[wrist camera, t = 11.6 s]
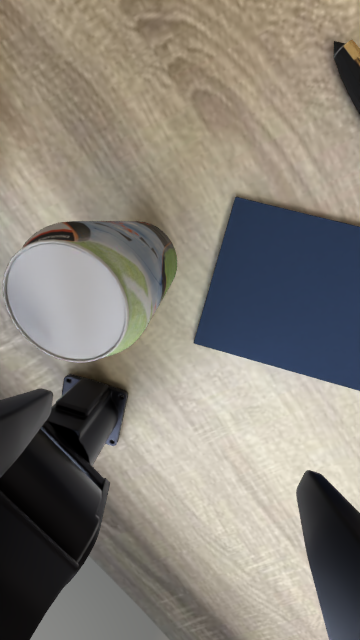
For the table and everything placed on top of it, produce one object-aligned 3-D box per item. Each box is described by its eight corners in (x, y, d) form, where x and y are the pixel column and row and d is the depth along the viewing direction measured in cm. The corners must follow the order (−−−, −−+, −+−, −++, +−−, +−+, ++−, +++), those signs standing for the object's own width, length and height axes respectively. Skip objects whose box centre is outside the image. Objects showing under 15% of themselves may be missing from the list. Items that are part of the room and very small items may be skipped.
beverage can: (165, 213, 18) (88, 133, 7) (192, 301, 20) (167, 356, 8) (96, 240, 20) (-67, 209, 8) (127, 320, 21) (24, 393, 10)
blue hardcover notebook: (423, 407, 19) (428, 410, 19) (193, 341, 21) (193, 343, 20) (513, 265, 16) (521, 265, 16) (235, 197, 17) (235, 196, 17)
